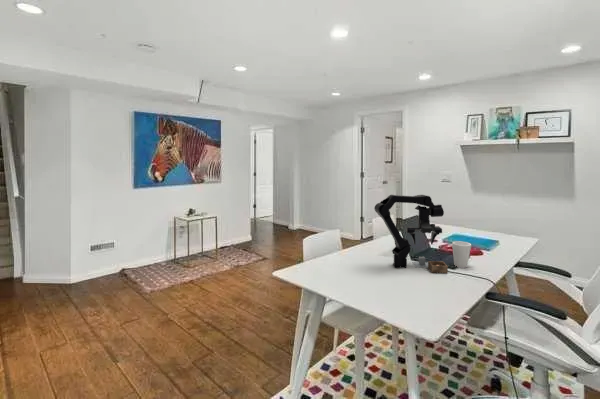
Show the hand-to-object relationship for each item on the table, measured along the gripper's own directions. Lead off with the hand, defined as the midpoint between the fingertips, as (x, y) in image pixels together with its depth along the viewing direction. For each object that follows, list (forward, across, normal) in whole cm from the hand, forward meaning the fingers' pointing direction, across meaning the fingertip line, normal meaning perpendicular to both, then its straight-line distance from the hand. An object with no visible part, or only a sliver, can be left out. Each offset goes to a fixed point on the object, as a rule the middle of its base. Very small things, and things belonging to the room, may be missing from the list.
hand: (423, 244), depth 190 cm
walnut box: (+12, +6, -9) cm, 16 cm away
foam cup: (+12, +21, 0) cm, 24 cm away
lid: (+13, 0, 0) cm, 13 cm away
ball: (+10, +6, -9) cm, 15 cm away
